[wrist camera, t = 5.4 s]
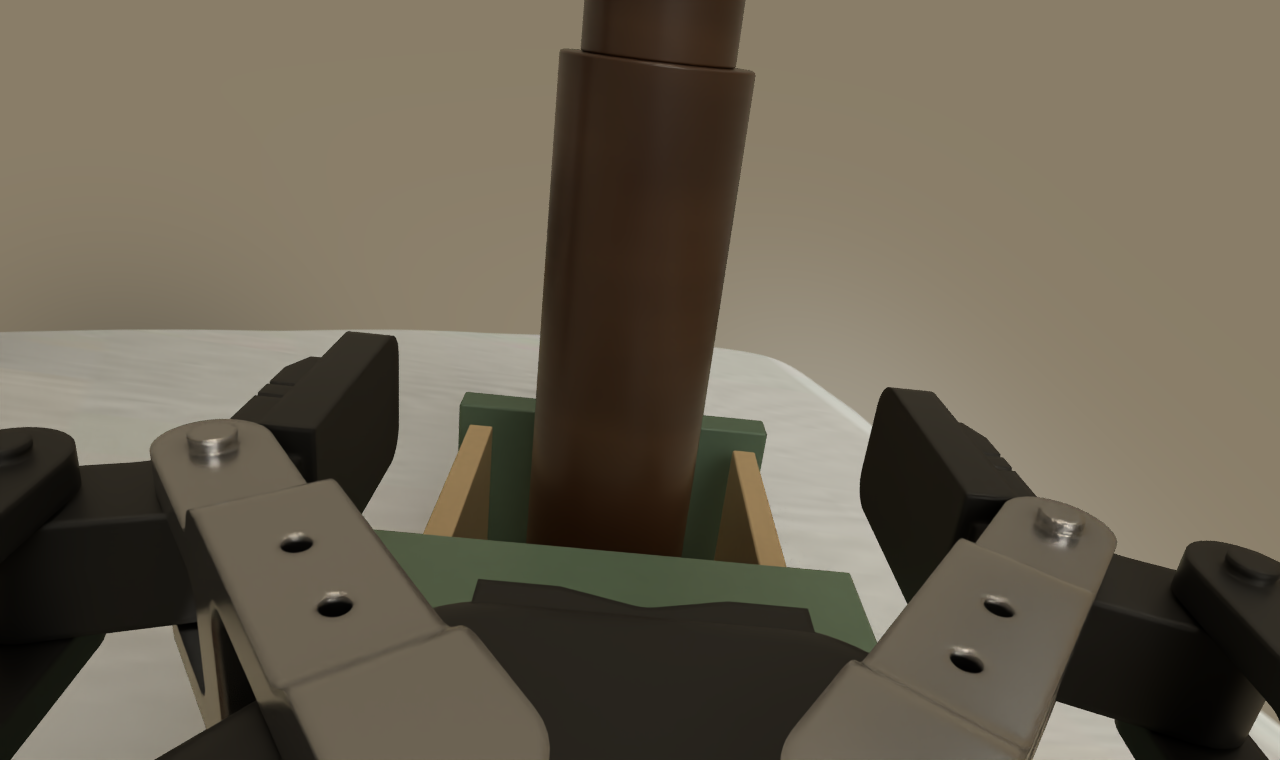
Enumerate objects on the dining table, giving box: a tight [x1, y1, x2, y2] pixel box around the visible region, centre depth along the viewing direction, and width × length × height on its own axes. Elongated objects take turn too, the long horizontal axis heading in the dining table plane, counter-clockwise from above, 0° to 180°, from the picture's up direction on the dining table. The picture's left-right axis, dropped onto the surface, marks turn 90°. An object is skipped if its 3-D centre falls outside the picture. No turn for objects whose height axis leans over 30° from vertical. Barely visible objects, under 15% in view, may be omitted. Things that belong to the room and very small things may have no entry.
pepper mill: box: [526, 0, 755, 558], centre depth 23 cm, size 5×5×22 cm
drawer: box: [423, 392, 786, 567], centre depth 28 cm, size 18×11×7 cm, turn 0°
